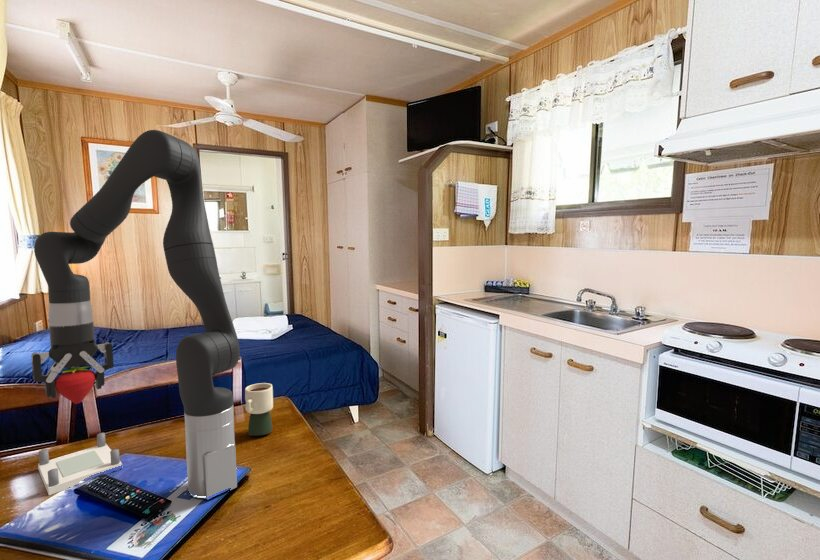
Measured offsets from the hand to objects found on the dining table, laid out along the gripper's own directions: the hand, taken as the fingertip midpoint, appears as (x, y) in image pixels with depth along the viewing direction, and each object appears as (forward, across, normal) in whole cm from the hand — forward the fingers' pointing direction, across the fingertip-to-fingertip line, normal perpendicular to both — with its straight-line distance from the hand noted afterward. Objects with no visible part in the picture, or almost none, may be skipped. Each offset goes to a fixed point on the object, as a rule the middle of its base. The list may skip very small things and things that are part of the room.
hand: (76, 392), depth 90 cm
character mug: (+18, +36, -15) cm, 43 cm away
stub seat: (+18, 0, 0) cm, 18 cm away
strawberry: (+3, 0, 0) cm, 3 cm away
